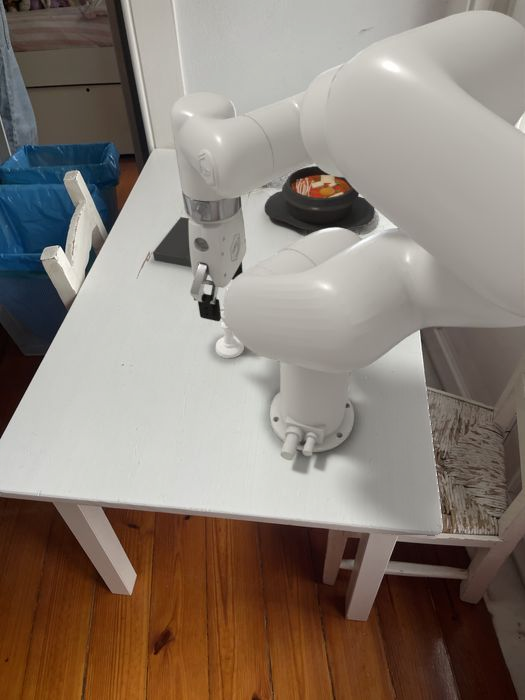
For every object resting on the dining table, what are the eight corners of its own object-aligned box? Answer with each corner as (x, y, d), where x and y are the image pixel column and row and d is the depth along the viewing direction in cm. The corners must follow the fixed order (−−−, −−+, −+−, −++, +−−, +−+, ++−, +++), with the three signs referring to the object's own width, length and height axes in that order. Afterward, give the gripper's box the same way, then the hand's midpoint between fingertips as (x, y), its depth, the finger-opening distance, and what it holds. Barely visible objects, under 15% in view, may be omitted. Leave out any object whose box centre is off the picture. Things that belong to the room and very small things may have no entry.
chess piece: (212, 341, 85) (206, 298, 78) (239, 334, 86) (235, 291, 78) (219, 361, 82) (213, 318, 74) (247, 354, 83) (244, 310, 75)
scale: (207, 272, 98) (205, 258, 96) (152, 263, 101) (149, 249, 98) (232, 233, 108) (231, 219, 105) (182, 225, 110) (179, 211, 108)
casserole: (256, 232, 107) (255, 198, 101) (273, 190, 120) (272, 157, 113) (370, 244, 103) (376, 209, 97) (375, 199, 116) (381, 165, 109)
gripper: (214, 241, 57) (225, 341, 69) (260, 171, 68) (262, 268, 80) (156, 231, 58) (177, 330, 71) (210, 164, 69) (220, 260, 82)
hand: (222, 297), depth 76 cm, fingers open, 9 cm apart
